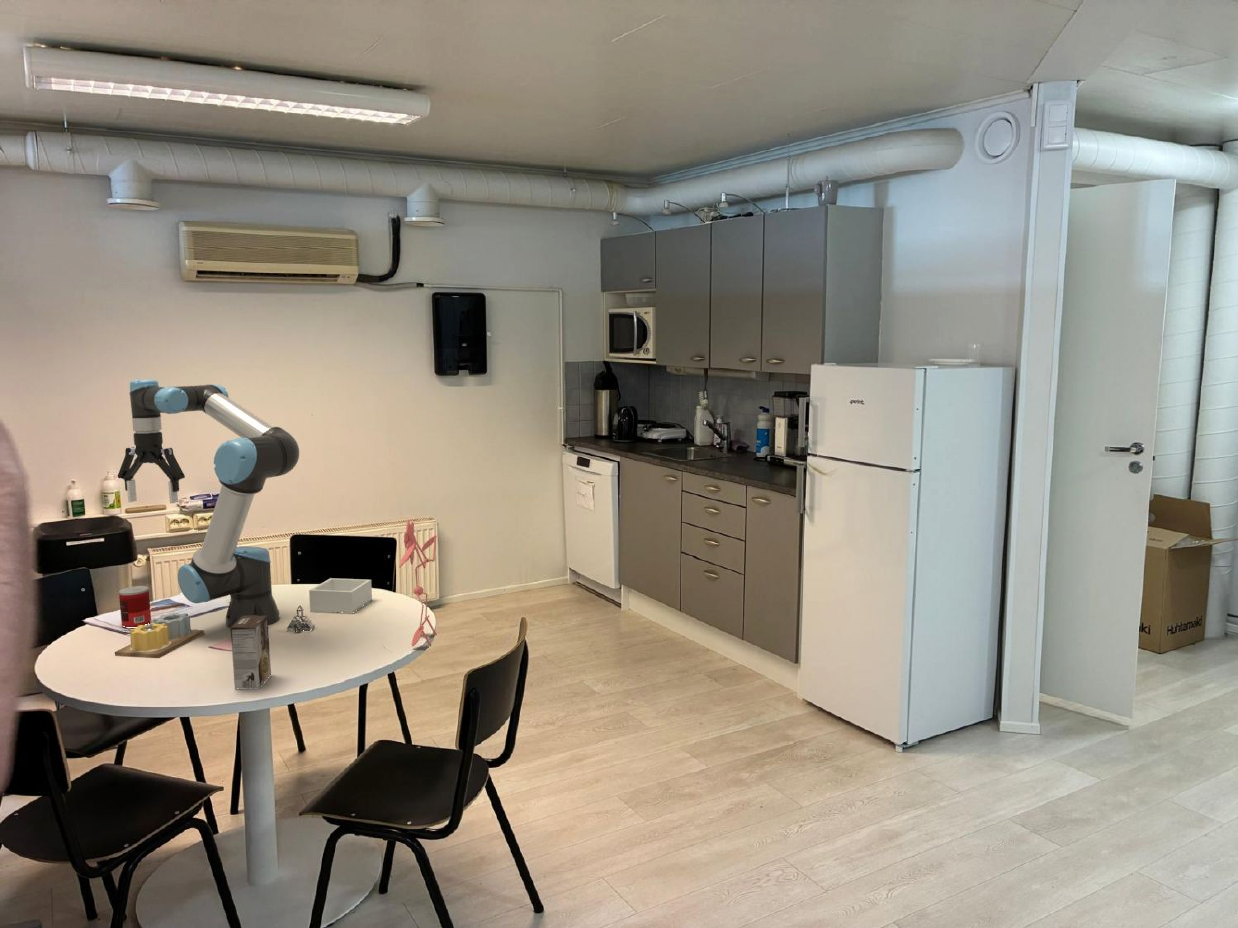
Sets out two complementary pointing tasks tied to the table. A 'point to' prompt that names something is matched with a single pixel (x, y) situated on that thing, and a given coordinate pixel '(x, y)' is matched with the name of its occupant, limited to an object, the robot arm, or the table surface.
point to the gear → (175, 624)
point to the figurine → (411, 546)
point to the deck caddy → (340, 595)
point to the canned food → (135, 606)
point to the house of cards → (297, 624)
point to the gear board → (165, 649)
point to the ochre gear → (149, 637)
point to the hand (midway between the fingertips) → (153, 502)
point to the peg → (149, 627)
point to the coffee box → (250, 651)
